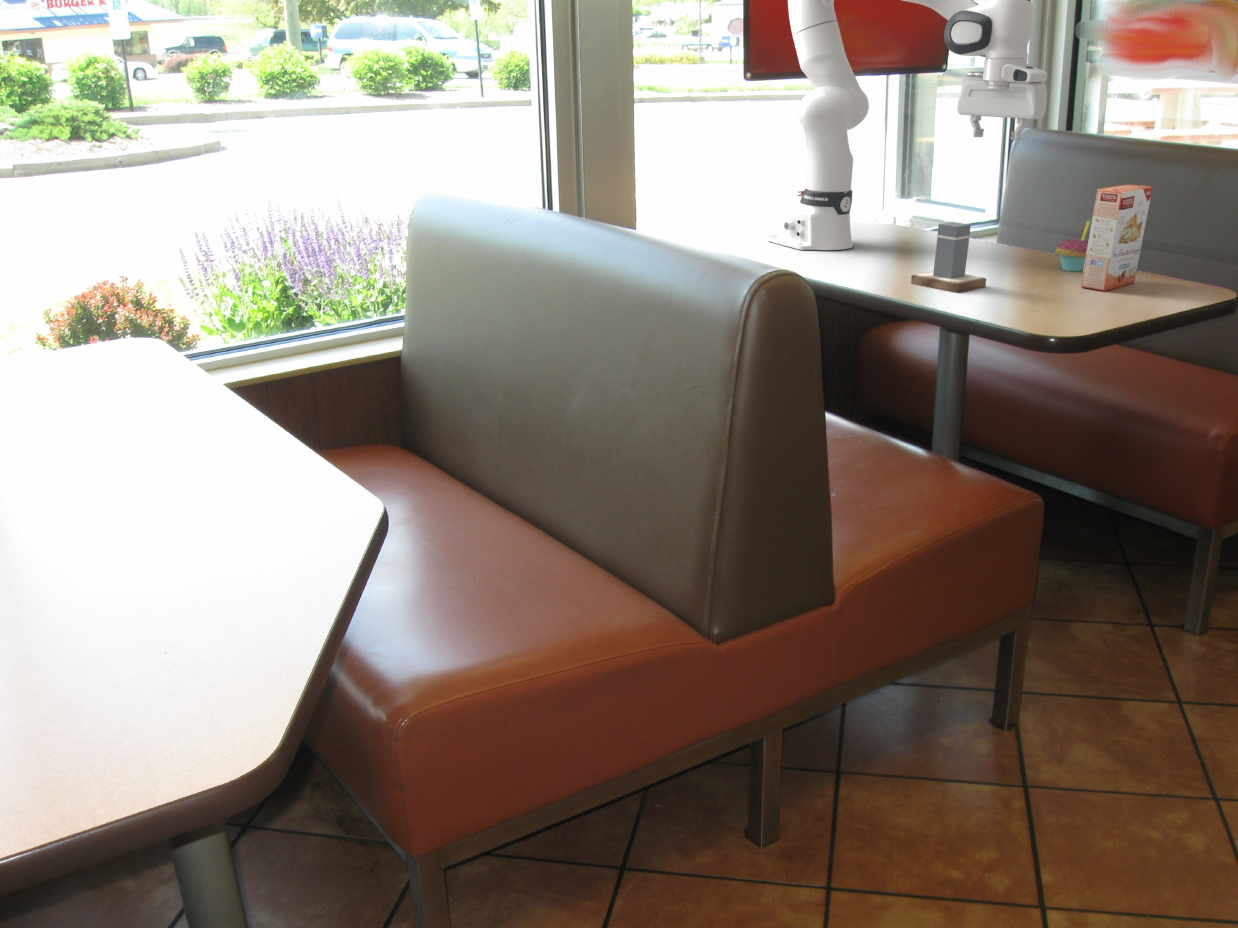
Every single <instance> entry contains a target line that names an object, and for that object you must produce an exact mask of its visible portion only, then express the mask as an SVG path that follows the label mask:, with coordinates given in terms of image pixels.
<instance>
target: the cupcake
mask: <svg viewBox="0 0 1238 928" xmlns="http://www.w3.org/2000/svg"><path fill="white" fill-rule="evenodd" d="M1091 220H1092V217H1089V218H1088V220H1087V221H1086V224H1085V227H1084V231H1083V234H1082V237H1081V238H1071V239H1065V240H1063V241H1062V242H1060V243H1058V245H1057V246H1056V248H1055V254H1056V255H1057V254H1058V256H1059V258H1060V262H1061V270H1064V271H1066V272H1083V270H1084V264H1085V258H1086V253H1087V247H1088V241H1089V240H1086V236H1087V233H1088V230H1089V228H1090V227H1089V226H1090V225H1091Z"/></svg>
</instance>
